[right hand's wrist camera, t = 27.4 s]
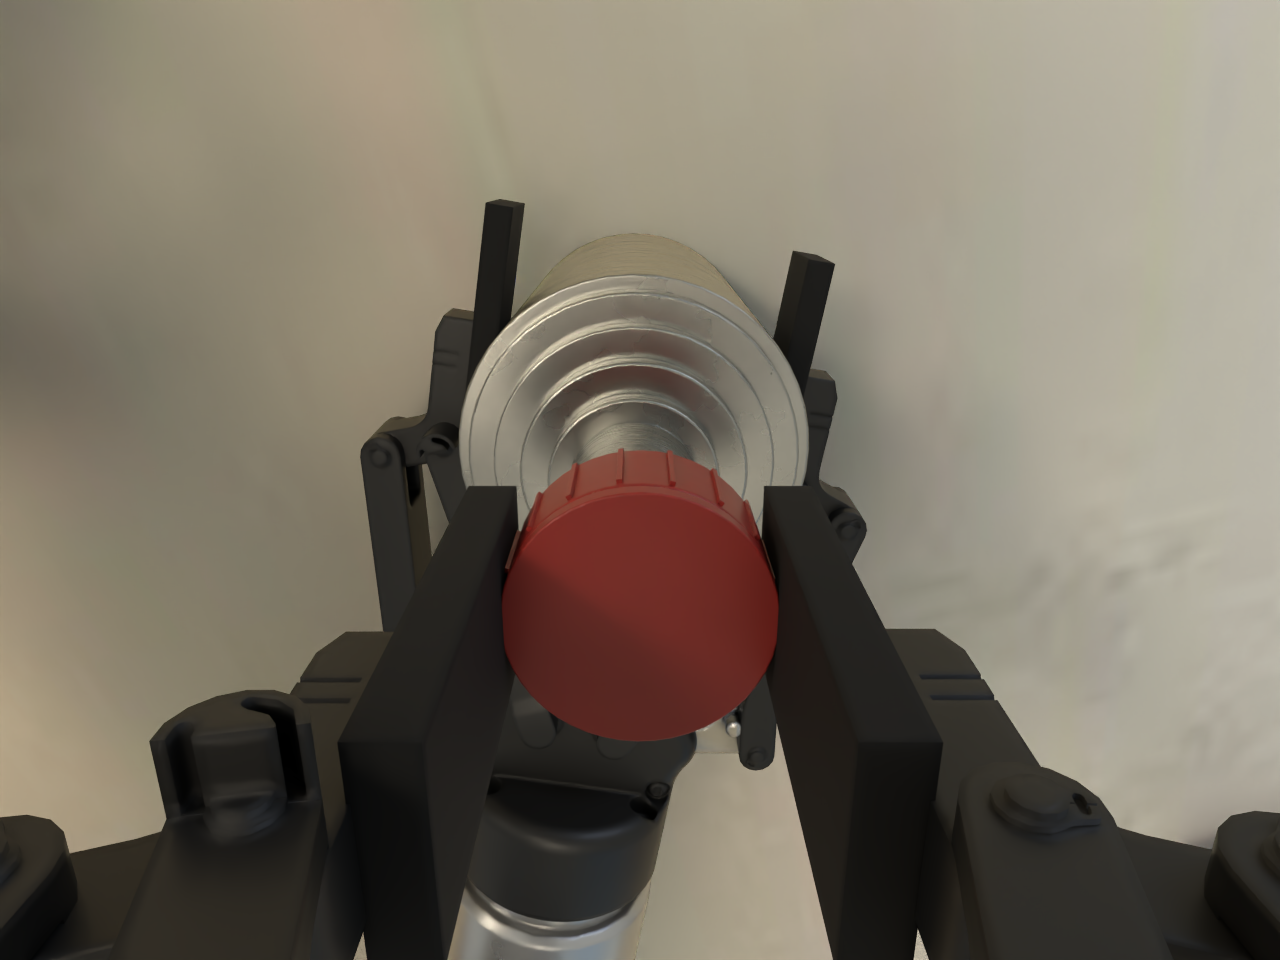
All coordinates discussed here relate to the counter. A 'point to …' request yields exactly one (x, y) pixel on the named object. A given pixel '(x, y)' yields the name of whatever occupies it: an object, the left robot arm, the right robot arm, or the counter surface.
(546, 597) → the cap
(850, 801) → the right robot arm
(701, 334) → the bottle
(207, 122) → the counter surface
